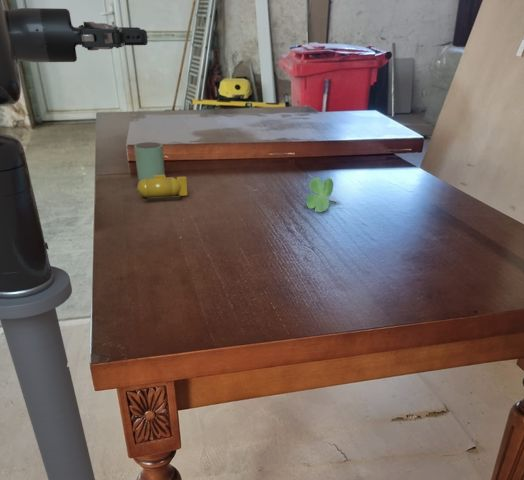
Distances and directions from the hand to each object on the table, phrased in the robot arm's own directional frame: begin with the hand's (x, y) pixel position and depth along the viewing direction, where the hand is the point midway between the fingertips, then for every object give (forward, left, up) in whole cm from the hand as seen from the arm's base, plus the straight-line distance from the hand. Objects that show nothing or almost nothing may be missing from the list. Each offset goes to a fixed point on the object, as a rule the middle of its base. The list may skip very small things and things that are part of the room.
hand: (144, 36), depth 89 cm
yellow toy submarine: (+1, +7, -30) cm, 31 cm away
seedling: (+33, -5, -30) cm, 45 cm away
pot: (-1, +18, -30) cm, 35 cm away
